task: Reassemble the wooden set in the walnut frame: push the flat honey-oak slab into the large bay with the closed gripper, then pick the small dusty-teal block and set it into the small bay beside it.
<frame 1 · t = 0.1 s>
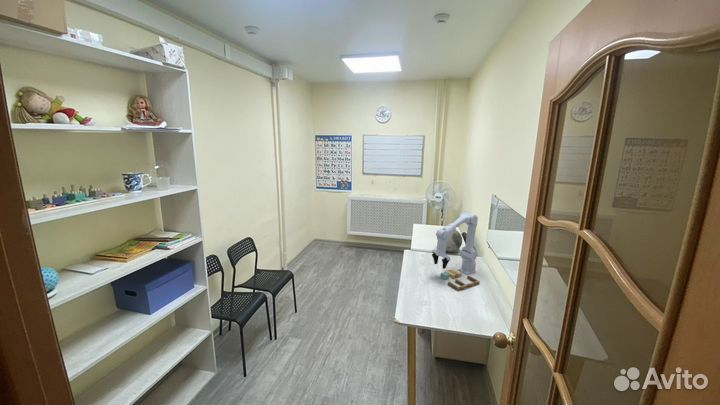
hand: (439, 266, 183), 10 cm above the table, fingers open, 7 cm apart
walnut frame: (464, 281, 183), on the table
oak slab: (452, 275, 192), on the table
moon model: (448, 251, 236), on the table
teal block: (444, 279, 187), on the table
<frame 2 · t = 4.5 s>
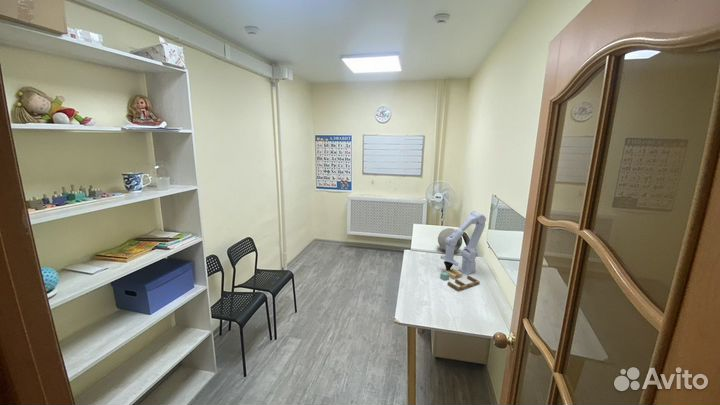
hand: (448, 271, 195), 1 cm above the table, fingers closed
oak slab: (453, 276, 191), on the table, touching gripper
everything else where it was.
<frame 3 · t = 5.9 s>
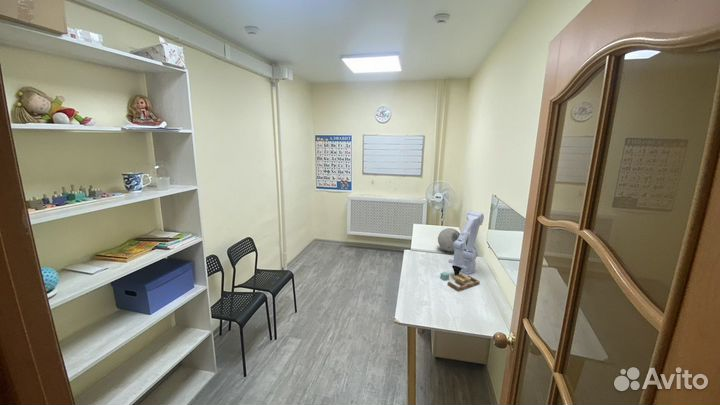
hand: (456, 275, 189), 1 cm above the table, fingers closed
oak slab: (461, 281, 185), on the table, touching gripper
everything else where it was.
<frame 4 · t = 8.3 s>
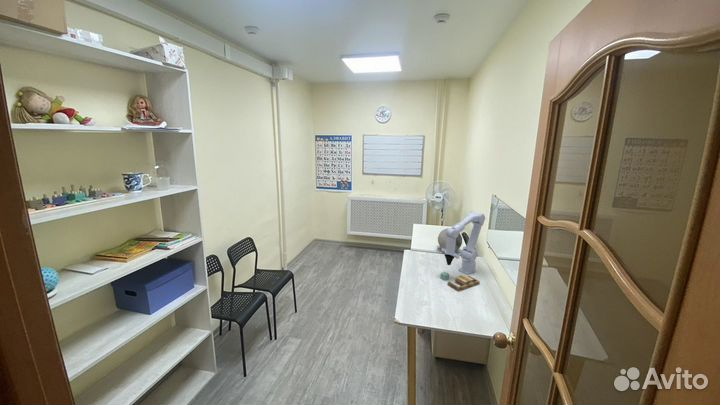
hand: (448, 264, 187), 10 cm above the table, fingers closed
oak slab: (464, 282, 183), on the table
everything else where it was.
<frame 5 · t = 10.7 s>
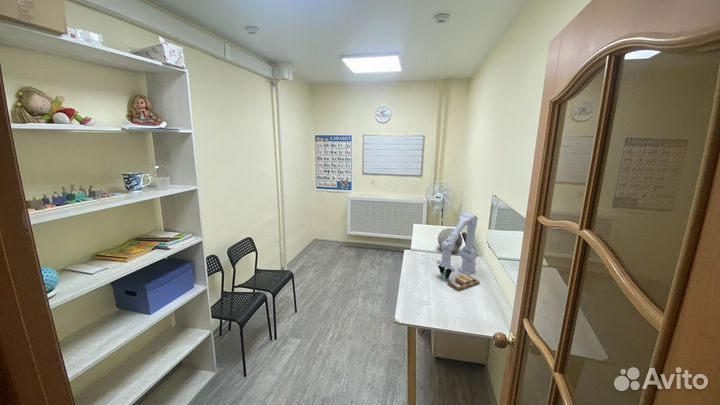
hand: (444, 276, 186), 1 cm above the table, fingers closed on teal block, 4 cm apart
teal block: (444, 278, 187), on the table, touching gripper
everything else where it was.
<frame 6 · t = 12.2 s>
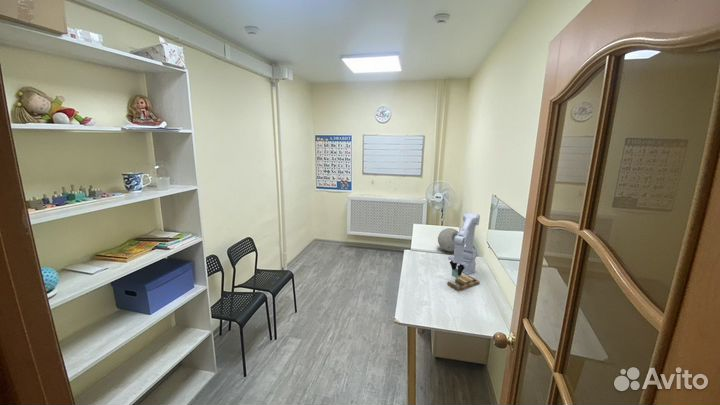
hand: (456, 273, 176), 8 cm above the table, fingers closed on teal block, 4 cm apart
teal block: (456, 276, 176), point 7 cm above the table, touching gripper
everything else where it was.
when the fingers open (3 cm above the table, at t = 13.7 s): teal block drops 2 cm, resting in walnut frame.
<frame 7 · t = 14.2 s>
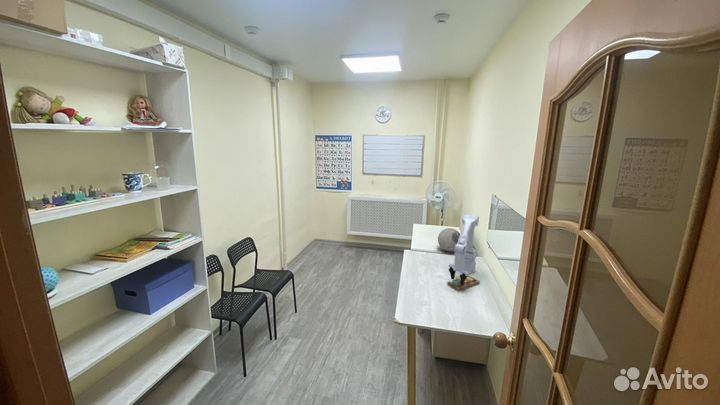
hand: (457, 281, 176), 3 cm above the table, fingers open, 7 cm apart
teal block: (456, 286, 177), resting in walnut frame
everything else where it was.
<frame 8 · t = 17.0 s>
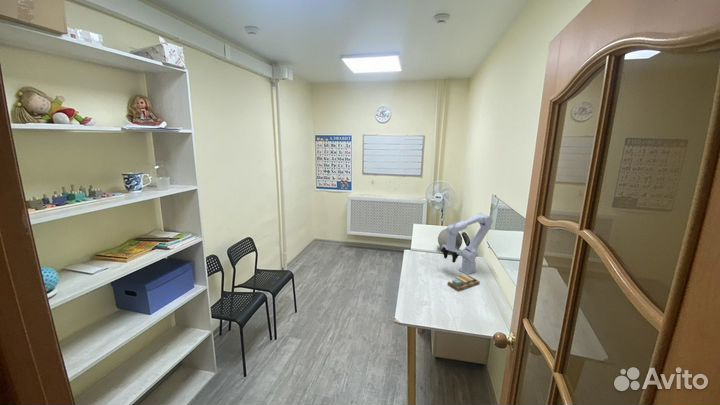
hand: (449, 260, 193), 10 cm above the table, fingers open, 7 cm apart
nothing on the table moved.
at the end: oak slab inside the target area (0.7 cm from its centre), on the table; teal block inside the target area (0.3 cm from its centre), resting in walnut frame; the gripper is holding nothing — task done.
